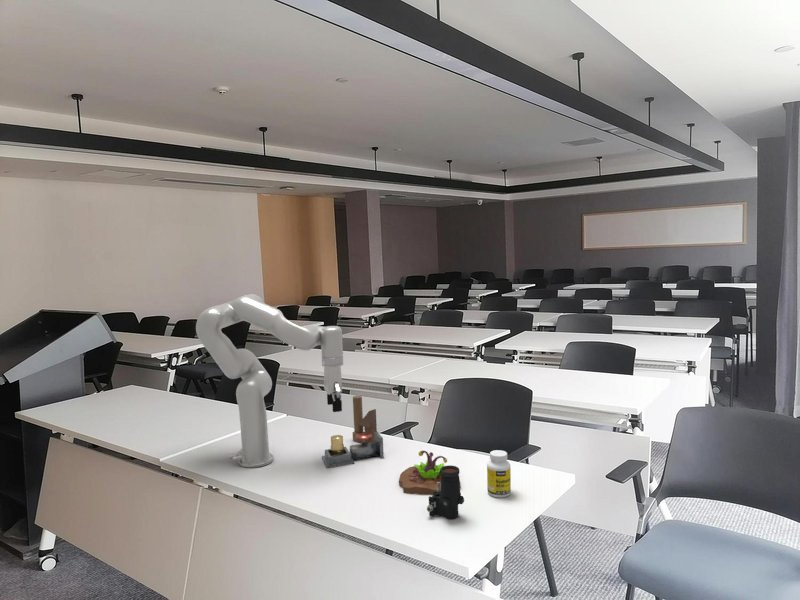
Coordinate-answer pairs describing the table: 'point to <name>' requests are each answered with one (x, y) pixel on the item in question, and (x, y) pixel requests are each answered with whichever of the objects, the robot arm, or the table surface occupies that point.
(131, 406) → the table surface
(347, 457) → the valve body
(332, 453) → the cylinder
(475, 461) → the table surface
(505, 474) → the supplement bottle
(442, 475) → the scope
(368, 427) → the wooden block
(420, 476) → the plant
